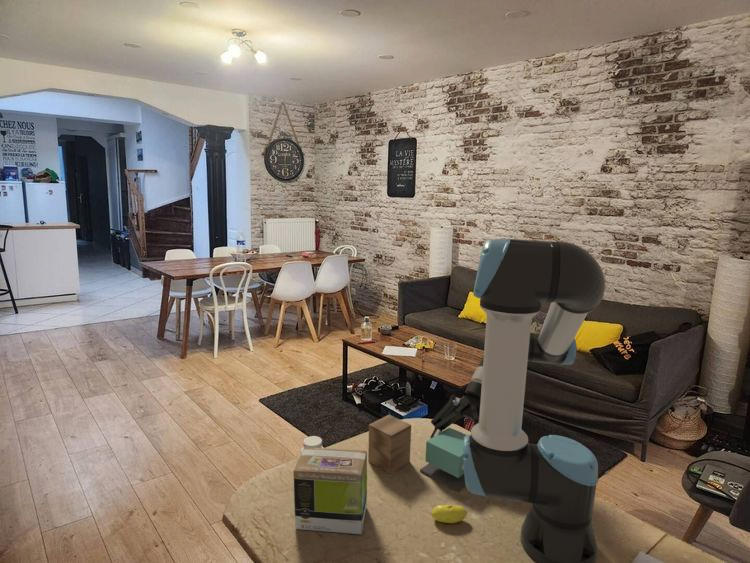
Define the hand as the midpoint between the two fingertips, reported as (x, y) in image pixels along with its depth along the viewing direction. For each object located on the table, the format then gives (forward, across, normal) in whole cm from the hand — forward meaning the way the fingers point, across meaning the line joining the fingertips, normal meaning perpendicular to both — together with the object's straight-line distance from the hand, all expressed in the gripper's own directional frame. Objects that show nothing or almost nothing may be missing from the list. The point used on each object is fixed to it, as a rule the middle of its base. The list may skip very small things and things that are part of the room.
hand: (446, 461), depth 127 cm
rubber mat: (+1, 0, -5) cm, 5 cm away
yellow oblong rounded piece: (+12, -10, +6) cm, 17 cm away
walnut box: (+7, +15, +1) cm, 16 cm away
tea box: (+25, +9, +19) cm, 33 cm away
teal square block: (-1, 0, -3) cm, 3 cm away
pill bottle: (+21, +23, +15) cm, 34 cm away
